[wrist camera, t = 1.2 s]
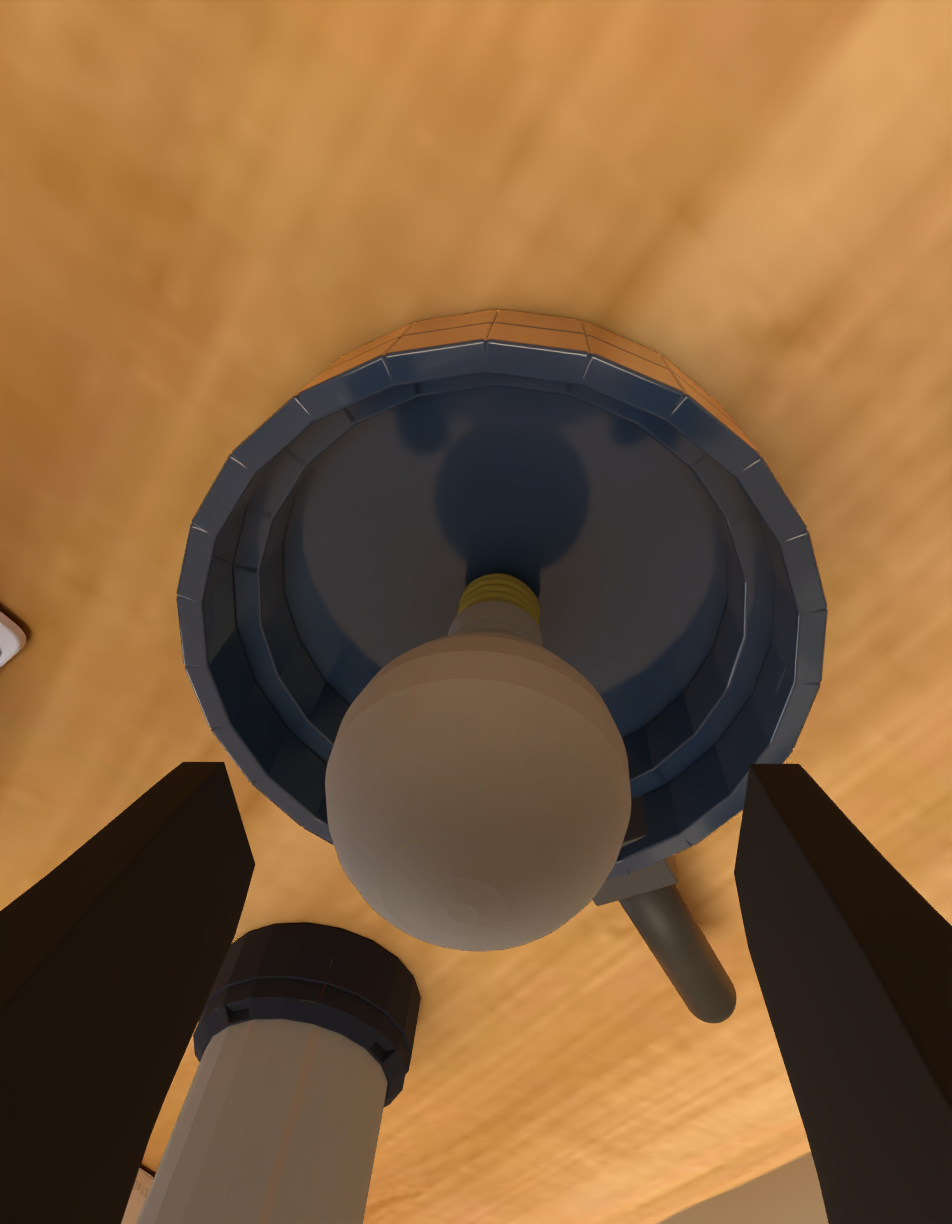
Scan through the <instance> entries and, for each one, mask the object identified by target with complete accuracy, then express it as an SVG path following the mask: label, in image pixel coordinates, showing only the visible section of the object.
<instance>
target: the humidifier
mask: <svg viewBox="0 0 952 1224" xmlns="http://www.w3.org/2000/svg"><path fill="white" fill-rule="evenodd" d="M420 999H421V998H420V995H419V992H418V989H417V986H416V983H415V980H414V977H413V976H412V975H411V974H410V973H409V971H408V970H407V969H406V968H405V967H404V965H403V964H402V963H401V962H400V961H399V959H398V958H396V957H395V956H394V955H392V954H391V953H389V952H388V951H386V950H385V949H383V948H382V947H380V946H379V945H377V944H376V943H374V942H373V941H371V940H368V939H365V938H363V937H360V936H358V935H355V934H353V933H350V932H347V931H345V930H342V929H338V928H332V927H326V926H321V925H315V924H309V923H300V924H276V925H272V926H268V927H265V928H262V929H258V930H255V931H252V932H248V933H247V934H246V935H244V936H243V937H241V938H240V939H239V940H237V941H236V942H234V943H233V944H232V945H230V948H229V950H228V953H227V955H226V957H225V960H224V962H223V964H222V967H221V969H220V971H219V974H218V976H217V979H216V981H215V983H214V986H213V988H212V990H211V993H210V995H209V997H208V1000H207V1002H206V1004H205V1007H204V1009H203V1011H202V1014H201V1016H200V1018H199V1023H198V1026H197V1028H196V1030H195V1033H194V1035H193V1037H194V1049H195V1055H196V1057H197V1059H198V1060H199V1062H200V1064H199V1066H198V1069H197V1071H196V1074H195V1076H194V1079H193V1081H192V1084H191V1086H190V1089H189V1091H188V1094H187V1096H186V1099H185V1101H184V1104H183V1106H182V1109H181V1111H180V1114H179V1116H178V1119H177V1122H176V1124H175V1127H174V1129H173V1132H172V1134H171V1137H170V1139H169V1142H168V1144H167V1147H166V1149H165V1152H164V1154H163V1157H162V1159H161V1162H160V1164H159V1167H158V1169H157V1172H156V1174H155V1177H154V1179H153V1182H152V1184H151V1187H150V1189H149V1192H148V1194H147V1197H146V1199H145V1202H144V1204H143V1207H142V1209H141V1212H140V1214H139V1217H138V1219H137V1222H136V1224H363V1219H364V1213H365V1207H366V1202H367V1196H368V1191H369V1185H370V1180H371V1174H372V1168H373V1163H374V1157H375V1152H376V1146H377V1141H378V1135H379V1129H380V1124H381V1118H382V1113H383V1108H384V1107H386V1106H388V1105H389V1104H390V1103H391V1102H392V1101H393V1100H394V1099H395V1098H396V1097H397V1095H398V1094H399V1093H400V1092H401V1091H402V1090H403V1084H404V1078H405V1074H406V1073H407V1072H408V1071H409V1066H410V1061H411V1055H412V1049H413V1043H414V1037H415V1030H416V1024H417V1018H418V1011H419V1005H420Z"/></svg>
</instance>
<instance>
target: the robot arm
mask: <svg viewBox="0 0 952 1224" xmlns="http://www.w3.org/2000/svg"><path fill="white" fill-rule="evenodd" d="M25 644H26V636H25V634H24V632H23V630H22V629H21V628H20V627H19V626H18V625H16V624H15V623H14V622H13V621H12V620H10V619H9V618H8V617H7V616H6V615H4V614H3V613H2V612H1V611H0V668H1V667H2V666H3V665H4V664H5V663H6V662H7V661H8V660H10V659H11V658H12V657H13V656H14V655H15V654H16V653H17V652H18V651H20V650H21V649H22V648H23V647H24V645H25ZM254 867H255V862H254V859H253V855H252V852H251V849H250V846H249V842H248V839H247V836H246V833H245V829H244V826H243V823H242V819H241V816H240V813H239V810H238V806H237V803H236V800H235V797H234V793H233V790H232V787H231V783H230V780H229V777H228V774H227V770H226V767H225V764H224V762H183V763H181V764H180V765H179V766H177V767H176V768H175V769H174V770H172V771H171V772H170V773H168V774H167V775H166V776H165V777H164V778H162V779H161V780H160V781H159V782H157V783H156V784H155V785H154V786H153V787H151V788H150V789H149V790H148V791H147V792H146V793H144V794H143V795H142V796H141V797H140V798H138V799H137V800H136V801H135V802H134V803H133V804H131V805H130V806H129V807H128V808H127V809H125V810H124V811H123V812H122V813H121V814H120V815H118V816H117V817H116V818H115V819H114V820H113V821H111V822H110V823H109V824H108V825H107V826H105V827H104V828H103V829H102V830H101V831H99V832H98V833H97V834H96V835H95V836H93V837H92V838H91V839H90V840H89V841H87V842H86V843H85V844H84V845H83V846H81V847H80V848H79V849H78V850H77V851H75V852H74V853H73V854H72V855H71V856H69V857H68V858H67V859H66V860H65V861H63V862H62V863H61V864H60V865H59V866H57V867H56V868H55V869H54V870H53V871H51V872H50V873H49V874H48V875H46V876H45V877H44V878H43V879H41V880H40V881H39V882H37V883H36V884H35V885H34V886H32V887H31V888H30V889H28V890H27V891H26V892H25V893H23V894H22V895H21V896H19V897H18V898H17V899H16V900H14V901H13V902H12V903H10V904H9V905H8V906H7V907H5V908H4V909H3V910H1V911H0V1224H121V1222H122V1219H123V1216H124V1213H125V1210H126V1207H127V1204H128V1201H129V1198H130V1195H131V1192H132V1189H133V1186H134V1183H135V1180H136V1177H137V1174H138V1171H139V1168H140V1165H141V1162H142V1159H143V1156H144V1153H145V1150H146V1147H147V1144H148V1141H149V1138H150V1135H151V1133H152V1130H153V1128H154V1125H155V1122H156V1120H157V1117H158V1115H159V1112H160V1110H161V1107H162V1104H163V1102H164V1099H165V1097H166V1095H167V1092H168V1090H169V1088H170V1085H171V1083H172V1081H173V1078H174V1076H175V1074H176V1071H177V1069H178V1067H179V1064H180V1062H181V1060H182V1058H183V1055H184V1053H185V1051H186V1048H187V1046H188V1044H189V1041H190V1039H191V1037H192V1034H193V1032H194V1030H195V1027H196V1025H197V1023H198V1020H199V1018H200V1016H201V1014H202V1011H203V1009H204V1007H205V1004H206V1002H207V1000H208V997H209V995H210V993H211V990H212V988H213V986H214V983H215V981H216V979H217V976H218V974H219V971H220V969H221V967H222V964H223V962H224V960H225V957H226V955H227V953H228V950H229V948H230V945H231V943H232V940H233V938H234V935H235V933H236V929H237V926H238V923H239V920H240V916H241V913H242V910H243V907H244V903H245V900H246V896H247V892H248V889H249V885H250V881H251V878H252V874H253V870H254ZM734 875H735V880H736V886H737V891H738V897H739V902H740V908H741V913H742V918H743V923H744V928H745V933H746V938H747V943H748V948H749V951H750V955H751V958H752V961H753V965H754V968H755V971H756V975H757V978H758V981H759V984H760V987H761V991H762V994H763V997H764V1000H765V1004H766V1007H767V1010H768V1013H769V1017H770V1020H771V1023H772V1026H773V1029H774V1032H775V1036H776V1039H777V1042H778V1045H779V1048H780V1051H781V1055H782V1058H783V1061H784V1064H785V1067H786V1070H787V1074H788V1077H789V1080H790V1083H791V1086H792V1090H793V1093H794V1096H795V1099H796V1102H797V1105H798V1109H799V1112H800V1115H801V1118H802V1121H803V1124H804V1128H805V1131H806V1134H807V1138H808V1141H809V1145H810V1149H811V1152H812V1156H813V1160H814V1163H815V1167H816V1171H817V1174H818V1178H819V1182H820V1187H821V1191H822V1196H823V1200H824V1205H825V1208H826V1214H827V1218H828V1223H829V1224H952V926H951V925H950V924H949V923H948V922H947V921H946V920H945V919H944V918H943V917H942V916H941V915H940V914H939V913H938V912H937V911H936V910H935V909H934V908H933V907H932V906H931V905H930V904H929V903H928V902H927V901H926V900H925V899H924V898H923V897H922V896H921V895H920V894H919V893H918V892H917V891H916V890H915V889H914V888H913V887H912V886H911V885H910V884H909V883H908V881H907V880H906V879H905V878H904V877H903V876H902V875H901V874H900V873H899V872H898V871H897V870H896V869H895V868H894V867H893V866H892V865H891V864H890V863H889V862H888V861H887V860H886V859H885V858H884V857H883V856H882V855H881V853H880V852H879V851H878V850H877V849H876V848H875V847H874V846H873V845H872V844H871V843H870V842H869V841H868V839H867V838H866V837H865V836H864V835H863V834H862V833H861V832H860V831H859V830H858V829H857V827H856V826H855V825H854V824H853V823H852V822H851V821H850V820H849V819H848V818H847V816H846V815H845V814H844V813H843V812H842V811H841V810H840V809H839V808H838V806H837V805H836V804H835V803H834V802H833V801H832V800H831V799H830V798H829V796H828V795H827V794H826V793H825V792H824V791H823V790H822V789H821V787H820V786H819V785H818V784H817V783H816V782H815V781H814V780H813V778H812V777H811V776H810V775H809V774H808V773H807V772H806V771H805V770H804V769H803V768H802V767H801V766H800V765H799V764H750V768H749V774H748V781H747V788H746V795H745V802H744V809H743V816H742V822H741V829H740V836H739V843H738V850H737V857H736V864H735V870H734Z"/></svg>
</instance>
